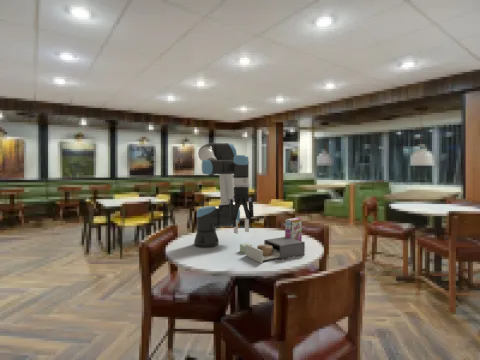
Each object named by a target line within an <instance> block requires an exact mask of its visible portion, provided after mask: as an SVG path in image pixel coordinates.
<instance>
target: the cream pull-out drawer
mask: <svg viewBox="0 0 480 360" xmlns="http://www.w3.org/2000/svg"><path fill="white" fill-rule="evenodd" d="M248 244H249V243H248ZM248 244H246V253H245V256H246V257H248V258H250V259H252V260H254V261H255V262H257V263H260V264H263V262H264V261H268V260H273V259H278V258H279V257H280V251H278V250H276V249H273V255H271V256H263V251H262V250H259V249H257V247H255V246H253V245H252V246H250V245H248Z"/></svg>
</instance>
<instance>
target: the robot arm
mask: <svg viewBox="0 0 480 360" xmlns="http://www.w3.org/2000/svg"><path fill="white" fill-rule="evenodd" d="M197 153H198V154H197V155H198V158H199V159H200V161H201V173H202V174H203V175H218V176H219V191H220V194H219V195H220V198H219V199H220V203H219V204H218V207H216V206H215V205H208V206H202V207H199V208H198V209H197V210H196V234H195V237H194V241H193V246H195V247H197V248H214V247H217V246H219V243H220V242H219V238H218V234H217V231H216V230H217V228H222V227H223V228H226V227H228V228H231V227H233V233H234V234H237V235H238V234H239V225H238V224H239V223H240V218H241V209H240V207H241V206H242V207H243V210H244V215H245V218H244V232H246V233H249V232H250V225H251V219H252V218H254V214H255V213H254V201H255V200H254V199H255V198H254V197H250V196H249V191H250V189H249V184H250V183H249V176H250V175H249V171H250V167H249V166H250V165H249V164H250V161H249V156H248V155H247V154H237V153H238V152H237V148H236V146H235V145H234V144H233V143H228V142H225V143H224V142H209V143H205V144H203V145H202V146H201V147H200V148H199V149H198V152H197Z"/></svg>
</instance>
